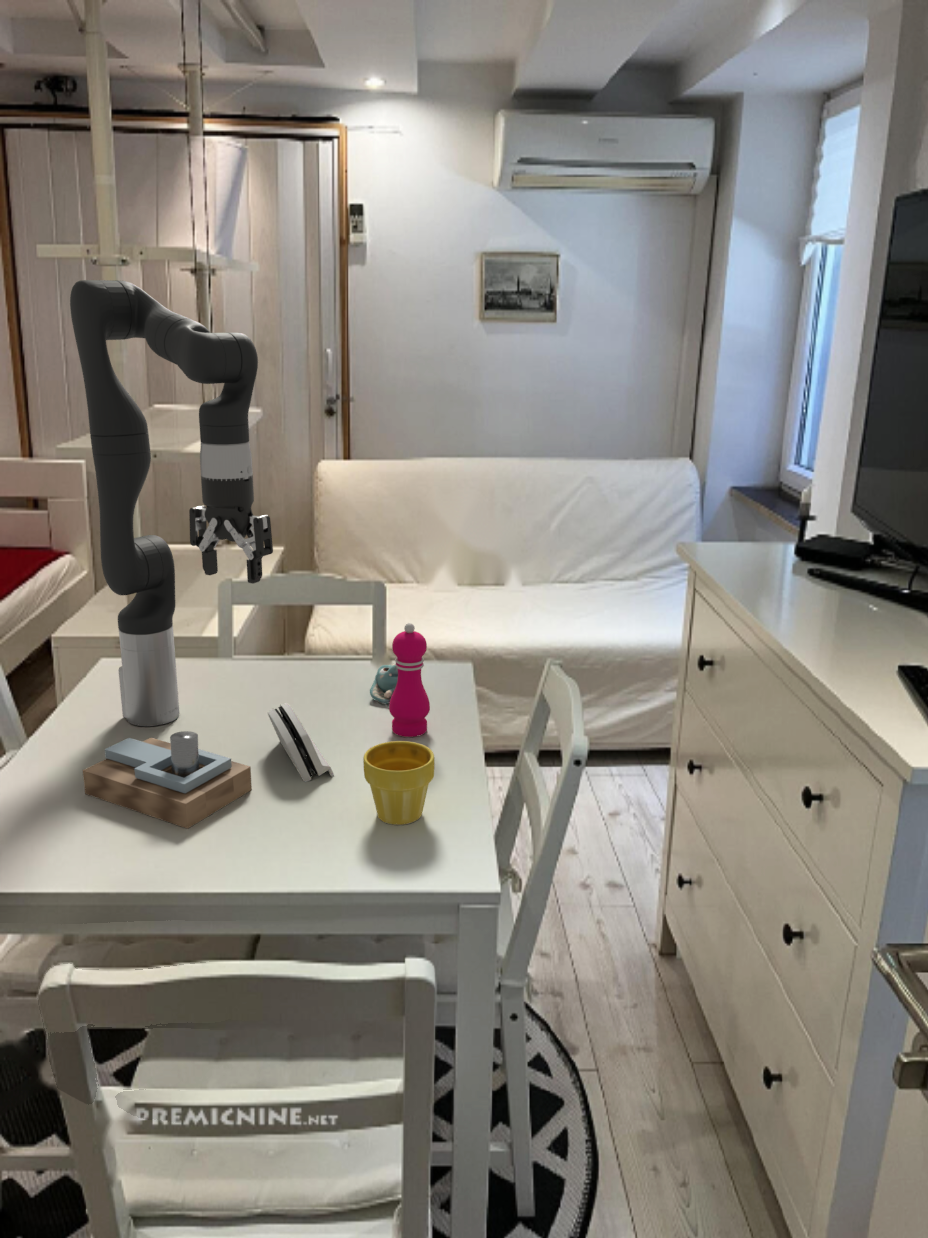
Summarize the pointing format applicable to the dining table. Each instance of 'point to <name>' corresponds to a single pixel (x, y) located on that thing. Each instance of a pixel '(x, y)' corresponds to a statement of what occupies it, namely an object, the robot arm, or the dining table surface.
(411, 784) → the plant pot
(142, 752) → the link
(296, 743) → the white game console
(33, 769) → the dining table surface
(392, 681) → the stuffed animal
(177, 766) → the pin
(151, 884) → the dining table surface
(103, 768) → the wooden block
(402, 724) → the pepper mill
